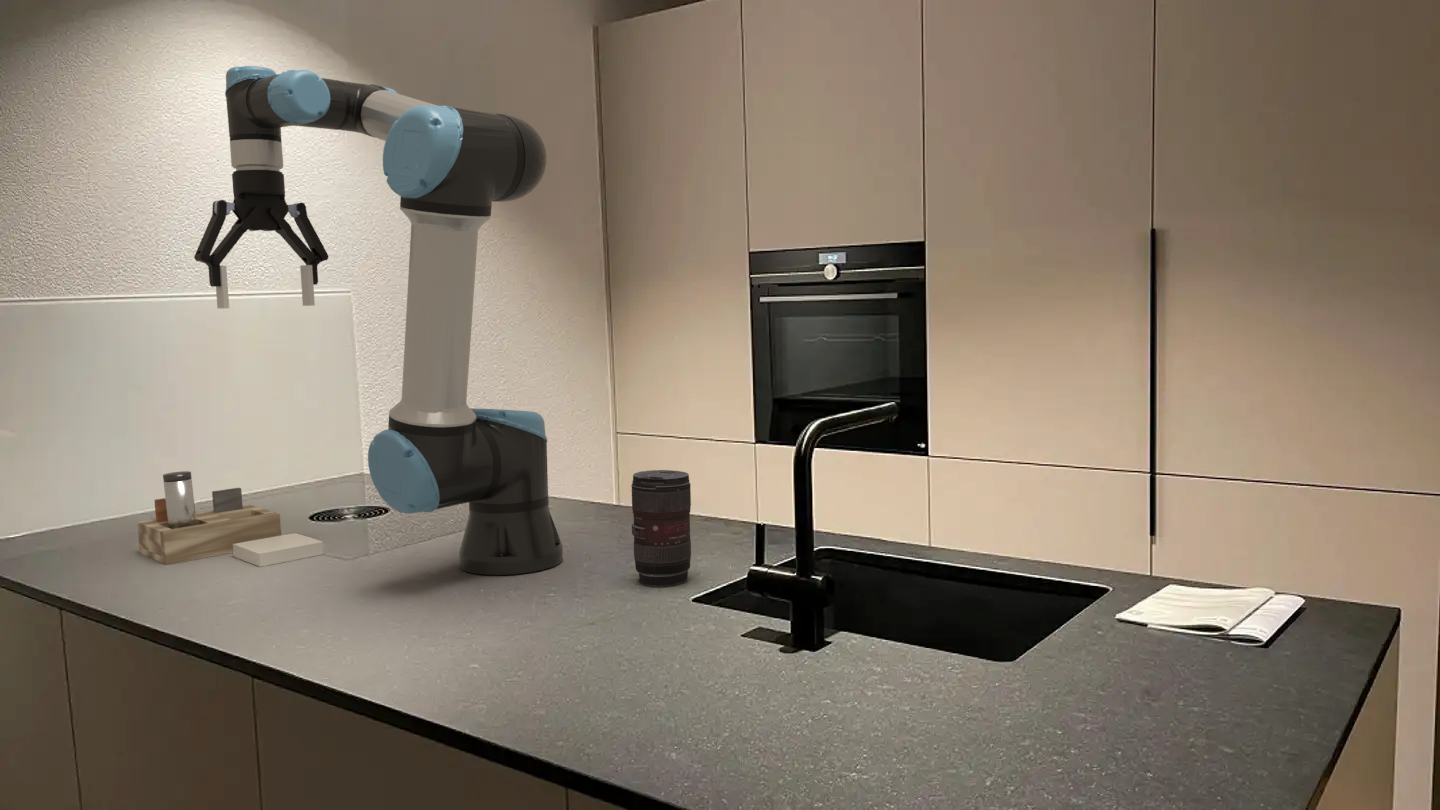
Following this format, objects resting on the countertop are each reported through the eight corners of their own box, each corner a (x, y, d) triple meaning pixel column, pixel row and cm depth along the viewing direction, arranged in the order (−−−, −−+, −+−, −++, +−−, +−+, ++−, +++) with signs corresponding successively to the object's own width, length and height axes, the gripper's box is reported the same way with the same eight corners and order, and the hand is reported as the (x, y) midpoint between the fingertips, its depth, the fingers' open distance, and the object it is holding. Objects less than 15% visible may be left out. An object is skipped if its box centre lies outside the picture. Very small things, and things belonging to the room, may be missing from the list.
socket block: (281, 543, 184) (278, 492, 183) (166, 564, 171) (161, 510, 171) (251, 533, 193) (248, 484, 192) (139, 552, 180) (135, 500, 179)
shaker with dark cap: (202, 547, 178) (194, 472, 176) (175, 552, 175) (167, 476, 174) (193, 543, 181) (186, 470, 179) (167, 548, 178) (159, 474, 176)
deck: (323, 554, 176) (322, 541, 175) (260, 566, 169) (259, 553, 168) (295, 545, 183) (294, 533, 182) (233, 556, 176) (232, 544, 175)
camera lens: (685, 589, 150) (682, 478, 149) (627, 587, 152) (623, 478, 150) (699, 573, 158) (696, 468, 156) (643, 572, 160) (639, 468, 158)
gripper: (323, 176, 186) (331, 304, 188) (164, 168, 169) (175, 309, 171) (344, 172, 181) (352, 304, 183) (183, 163, 163) (194, 309, 166)
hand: (267, 307), depth 177 cm, fingers open, 13 cm apart
